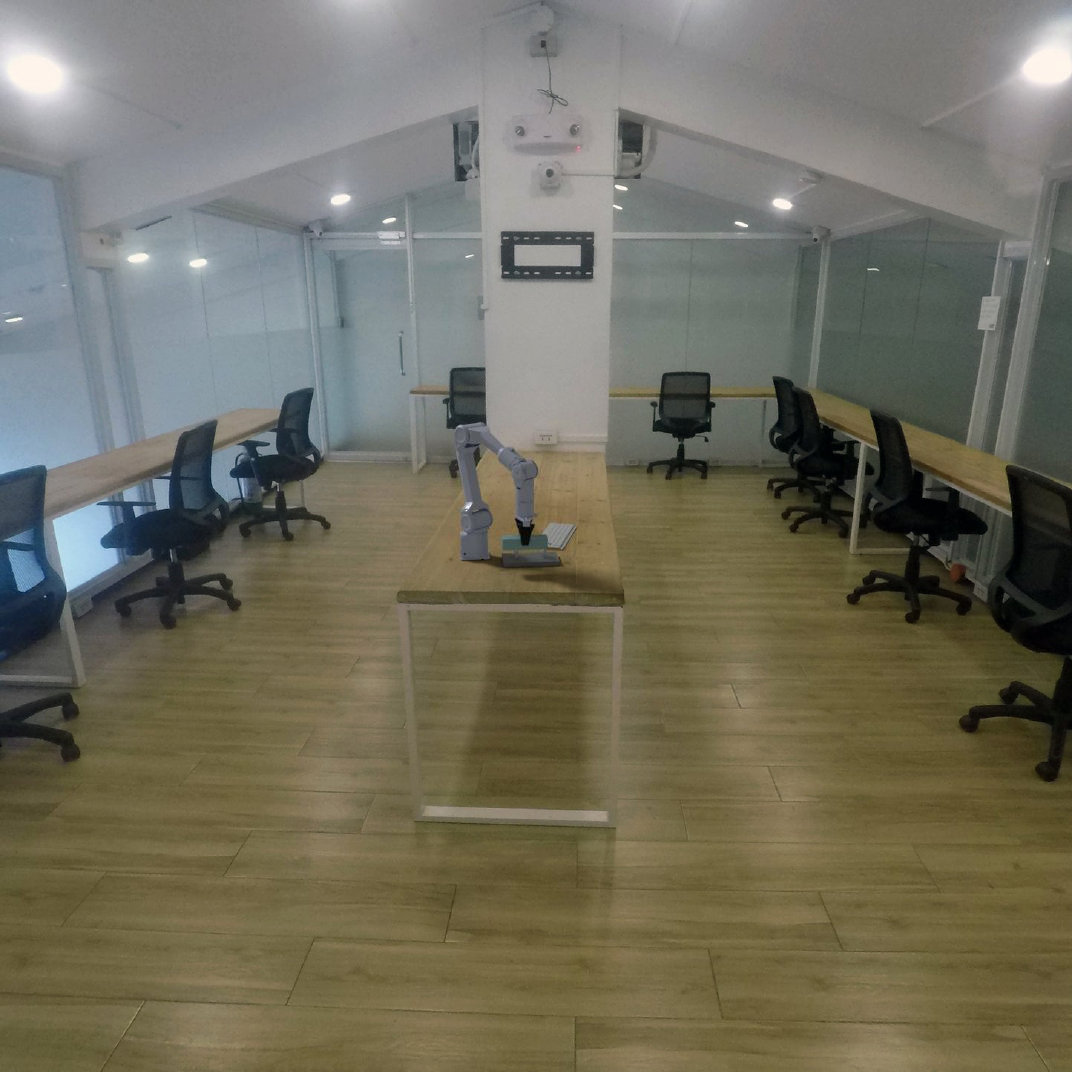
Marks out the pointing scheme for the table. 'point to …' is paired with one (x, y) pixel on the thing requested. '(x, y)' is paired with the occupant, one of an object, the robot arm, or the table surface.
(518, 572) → the table surface
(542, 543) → the teal rectangular block
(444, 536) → the table surface
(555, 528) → the white ridged flat slab
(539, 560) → the peg stand
